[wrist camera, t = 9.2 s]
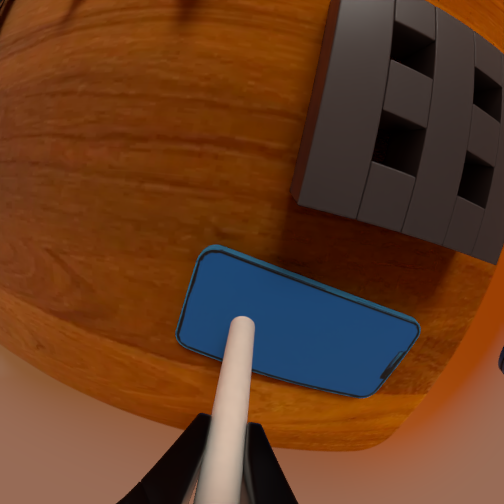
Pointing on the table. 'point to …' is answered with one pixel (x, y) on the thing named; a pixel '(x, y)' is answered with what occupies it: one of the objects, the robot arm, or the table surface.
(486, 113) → the pen stand
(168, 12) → the table surface
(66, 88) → the table surface
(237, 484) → the stylus
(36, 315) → the table surface
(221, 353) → the smartphone
